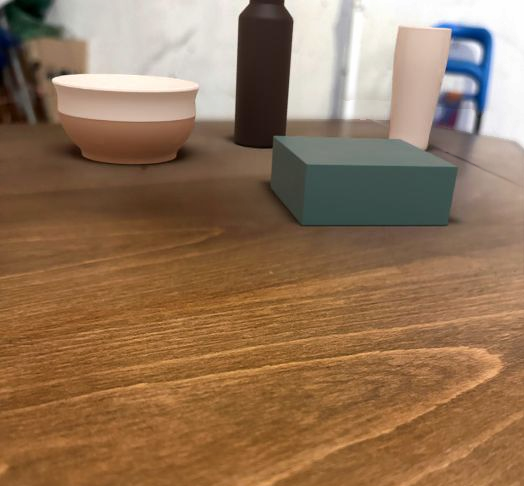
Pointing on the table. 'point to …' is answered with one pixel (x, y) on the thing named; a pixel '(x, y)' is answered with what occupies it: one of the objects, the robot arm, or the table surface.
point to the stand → (361, 181)
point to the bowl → (126, 115)
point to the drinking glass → (417, 81)
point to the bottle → (262, 72)
